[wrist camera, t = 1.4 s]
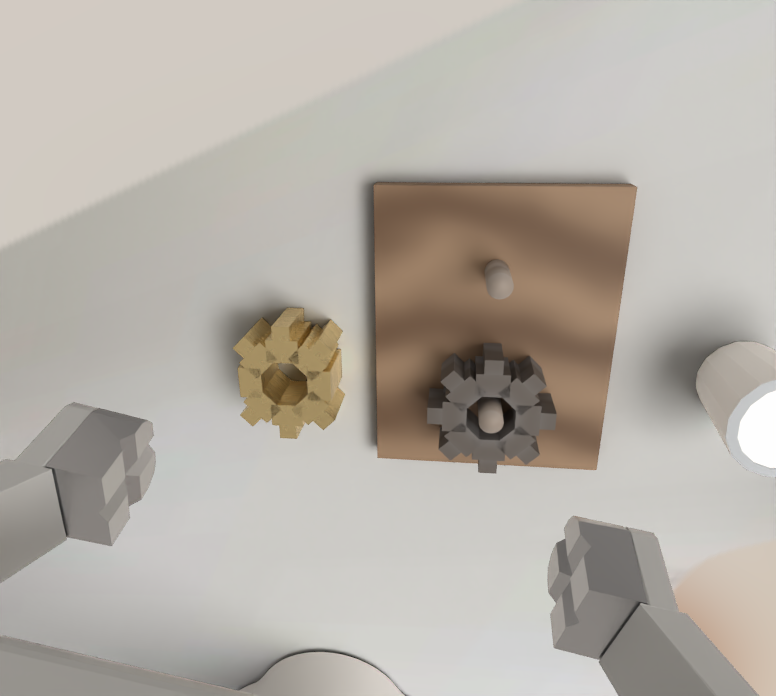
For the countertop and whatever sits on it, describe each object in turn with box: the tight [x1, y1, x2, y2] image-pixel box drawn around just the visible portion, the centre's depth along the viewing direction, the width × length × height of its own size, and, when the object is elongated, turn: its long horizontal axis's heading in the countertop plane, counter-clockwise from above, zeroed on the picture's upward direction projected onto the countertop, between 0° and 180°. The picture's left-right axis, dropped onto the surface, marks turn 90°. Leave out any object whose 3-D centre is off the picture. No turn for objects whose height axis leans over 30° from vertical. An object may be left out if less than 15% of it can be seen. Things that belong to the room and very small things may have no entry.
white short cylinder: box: [695, 341, 776, 477], centre depth 38 cm, size 7×7×7 cm
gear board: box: [374, 182, 637, 473], centre depth 40 cm, size 20×16×5 cm
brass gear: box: [233, 308, 345, 439], centre depth 43 cm, size 8×7×4 cm
